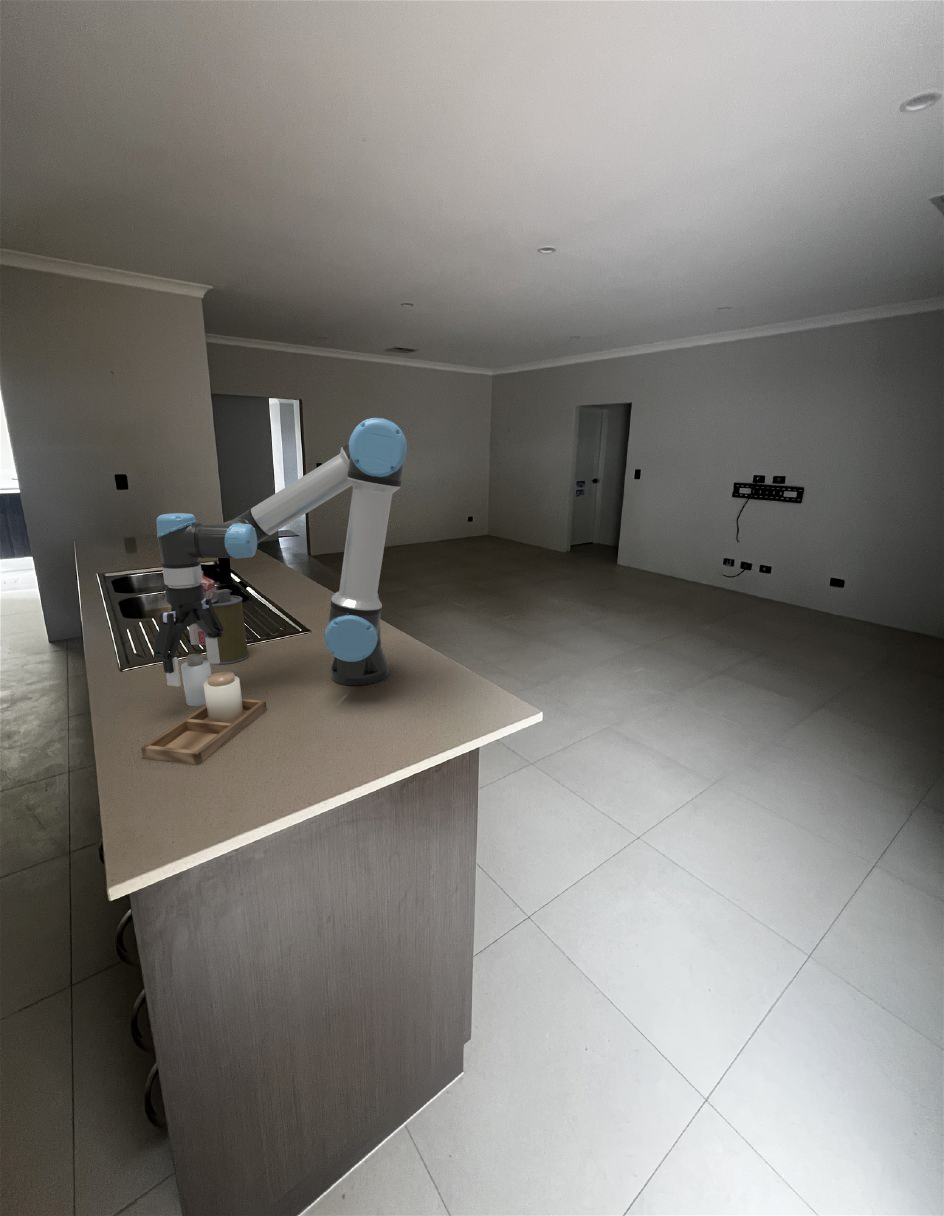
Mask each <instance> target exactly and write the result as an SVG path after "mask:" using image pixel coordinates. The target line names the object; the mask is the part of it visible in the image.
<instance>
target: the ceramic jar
mask: <svg viewBox="0 0 944 1216" xmlns="http://www.w3.org/2000/svg"><path fill="white" fill-rule="evenodd" d="M207 679H208V680H207V681H205V682H204V684H203V685H204V692H205V699H206V706H207V713H208V720H209V721H214V722H223V723H233V722H235V721H236V720H237V719H238V718H240V717H241V716H242V715H244V713H243V705H242V699H243V697H242V691H241V690H242V689H241V683H240V682H241V681H240V678H239V677H238V676H236V675H235V673H234V672H232V671H220V672H219V671H218V672H215V673H211V675H210V676H208V678H207Z"/></svg>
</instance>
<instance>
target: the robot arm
mask: <svg viewBox="0 0 944 1216" xmlns="http://www.w3.org/2000/svg"><path fill="white" fill-rule="evenodd" d="M407 454H408V445H407V439H406V436H405V434H404V432H403V431H402V429H401V428H400V427H399V426H398V425H397V424H396V423H394V422H393V421H392V420H389V419H386V418H384V417H382V418H381V417H371V418H367V419H364V420H363V421H361V422H360V423H359V424H358V425H357V426H356V427H355V428H354V430H353V431H352V433H351V435H350V437H349V441H348V443H346V444H344V445H343V446H342V447H340V453H339V454H338V455H335V456H334V457H332V458H330V459H329V460H328V461H326V462H324V463H323V464H321V465H319V466H318V467H316V468H315V469H313V470H311V471H309V472H308V473H306V474H305V475H303V476H302V477H299V478H298V479H297V480H295V481H293V482H292V483H290V484H289V485H287V486H285V487H283V488H282V489H281V490H279V491H278V492H275V493H274V494H272V495H271V496H269V497H267V498H266V499H264V500H263V501H261V502H259V503H258V504H256V505H255V506H253V507H251V508H250V509H248V510H246V511H245V512H244V513H242V514H240V515H238V516H236V517H235V518H233V519H230V520H228V521H225V522H221V523H220V522H219V523H200V522H197V520H196V517H195V515H194V514H192V513H182V512H178V513H177V512H176V513H175V512H173V513H172V512H171V513H164V514H160V515H159V516H157V518H156V532H157V534H156V537H157V542H158V547H159V548H158V549H159V554H160V560H161V567H162V575H163V582H164V585H166V586H165V588H164V591H165V599H166V603H167V604H168V605H169V606H170V607H171V608H170V612H163V611H161V612H160V613H159V627H158V632H157V636H156V639H155V640H156V641H155V645H154V651H153V655H152V658H154V659H157V660H161V661H162V665H163V672H164V673H165V676H166V684H167V686H171V687H172V686H173V687H181V685H182V683H181V676H180V669H179V662H178V657H177V656H175V655H176V652H177V651H178V647H179V644H180V642H181V640H182V636H183V634H184V632H186V630H187V629H188V628H189V626H191V625H192V624H197V625H198V626H199V627H200V628H201V629H202V630H203V631H204V632H205V633H206V634H207V635H208V636H209V637H206V638H205V641H206V645H205V648H206V659H207V660H209V661H210V665H211V664H212V665H213V664H214V665H220V664H219V663H220V658H219V643H218V637H221V636H222V633H221V632H223V630H224V628H223V626H222V624H221V622H220V620H219V619H218V617H217V615H216V613H215V611H214V609H213V607H212V602H211V599H205V598H204V590H203V585H202V584H201V582H202V581H203V579H202V571H203V570H202V566H201V565H202V564H201V559H207V558H208V559H212V558H213V559H236V560H238V559H244V558H247V559H248V558H253V557H254V556H255V555H256V551H257V549H258V544H259V543H261V541H264V540H265V539H266V538H267V539H268V538H269V537H270V536H272V535H273V534H274V533H276V532H278V531H279V530H282V528H284V527H286V526H287V525H289V524H291V523H293V522H294V521H296V520H298V519H299V518H300V517H302V516H304V515H306V514H307V513H309V512H311V511H312V510H314V509H315V508H317V507H319V506H320V505H322V504H324V503H325V502H327V501H329V500H330V499H332V498H333V497H336V496H337V495H339V494H340V493H341V492H343V491H345V490H347V489H348V488H350V487H352V493H351V501H350V506H349V516H348V524H347V530H346V539H345V546H344V554H343V561H342V569H341V575H340V583H339V590H338V591H336V592H334V593H333V595H332V596H331V599H330V606H329V607H330V608H329V613H328V614H329V615H328V622H327V626H326V628H325V630H324V634H323V635H324V643H325V647H326V648H327V650H328V651H329V653H330V654H331V655H332V656H333V660H332V663H331V667H330V675H331V679H332V681H333V682H335V683H337V684H341V685H344V686H345V685H346V686H366V685H371V684H374V683H378V682H380V681H383V680H384V679H386V678H387V677H388V675H389V674H390V672H389V671H390V668H389V667H390V666H389V662H388V660H387V658H386V657H387V656H386V655H385V652H384V650H383V647H382V639H381V638H382V636H381V615H382V608H383V604H382V602H381V600H380V597H379V593H378V590H379V584H380V579H381V578H380V576H381V570H382V564H383V563H382V562H383V557H384V551H385V550H384V549H385V544H386V539H387V538H386V537H387V532H388V526H389V525H388V523H389V516H390V512H391V511H390V510H391V506H392V505H391V504H392V498H393V494H394V493H395V492H397V491H398V490H400V489H401V484H402V479H403V473H404V466H405V460H406V458H407ZM216 626H217V627H216Z"/></svg>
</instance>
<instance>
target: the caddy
mask: <svg viewBox="0 0 944 1216" xmlns="http://www.w3.org/2000/svg"><path fill="white" fill-rule="evenodd" d="M242 705H243V713H244V715H242V716H241V717H240V718H238V719H237V720H236V721H235V722H233V723H223V722H214V721H209V720H208V713H207V706H206V705H202V707H200V708H198V709H197V710H196V711H194V712H193V713H191V714H189V715H188V716H187V717H185V718H183V719H182V720H180V721H179V722H178V723H176V724H174V725H173V726H171V727H170V728H168V729H167V730H165V731H164V732H162V733H161V734H159V735H158V736H156V737H154V738H153V739H151V740H150V741H149V742H147V743H146V744H144V745H143V746H141V747H140V749H141V755H142V759H149V760H155V761H164V762H172V763H180V764H181V763H182V764H189V765H195V766H196V765H197V766H198V765H201V764H202V763H203V762H204V761H205V760H207V759H208V758H210V757H211V756H213V754H214V753H216V752H217V751H218V750H219V749H220V748H223V746H224V745H226V743H229V741H230V740H232V739H233V738H234V737H235V736H236V735H238V734H240V733H241V731H243V730H244V729H245V728H247V727H248V726H249V725H251V723H253V722H254V721H255V720H257V719H258V718H259V717H260V716H262V715H263V714H265V713H266V711H267V710H268V709H267V701H266V700H261V699H260V700H259V699H258V700H257V699H247V698H242Z"/></svg>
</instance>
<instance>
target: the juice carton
mask: <svg viewBox="0 0 944 1216" xmlns="http://www.w3.org/2000/svg"><path fill="white" fill-rule="evenodd" d="M201 571H202V579H203V581H202V582H201V584H202V585H203V590H204V598H205V599H208V598H211V597H212V596H213V591H216V581H215V580H213V579H212V578H209V577H208V576H205V575H204V570H201ZM188 632H189V640H190V645H191V646H192V645H193V646H197V645H199V646H202V645H204V646H206V641H205V635H204V631H203V630H202V629H201V628H200V627H199V626H198V625H197V624H192V625H191V626H189V627H188Z"/></svg>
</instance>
